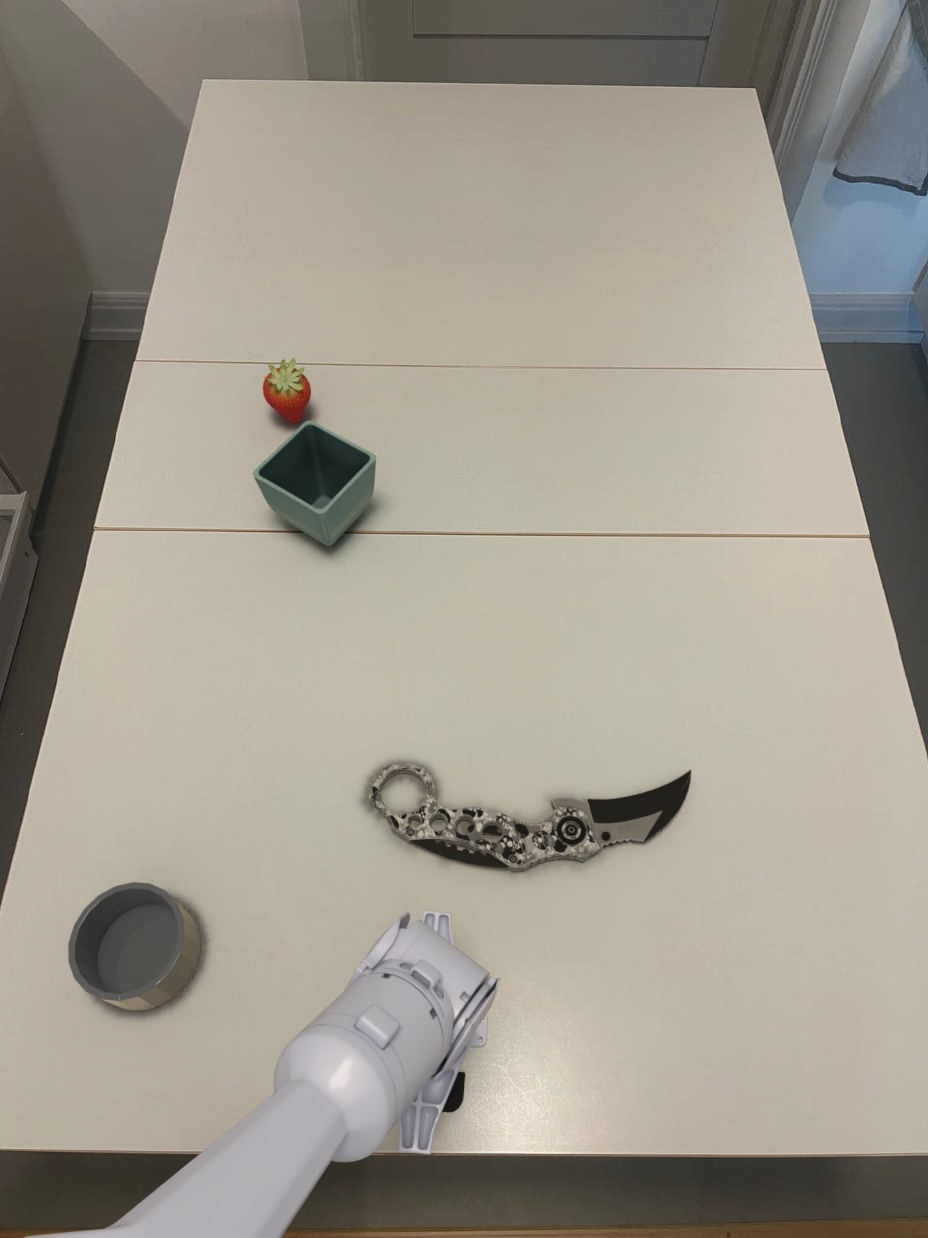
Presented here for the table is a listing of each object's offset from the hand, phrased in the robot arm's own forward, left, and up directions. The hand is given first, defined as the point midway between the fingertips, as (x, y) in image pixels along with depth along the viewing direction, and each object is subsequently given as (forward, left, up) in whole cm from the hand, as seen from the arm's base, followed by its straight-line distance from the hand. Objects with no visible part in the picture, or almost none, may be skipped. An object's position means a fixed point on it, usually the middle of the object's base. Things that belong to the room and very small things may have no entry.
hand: (428, 1039), depth 66 cm
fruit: (+62, +22, -2) cm, 66 cm away
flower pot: (+48, +16, -2) cm, 51 cm away
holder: (+4, +23, -2) cm, 24 cm away
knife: (+18, -7, -2) cm, 20 cm away
